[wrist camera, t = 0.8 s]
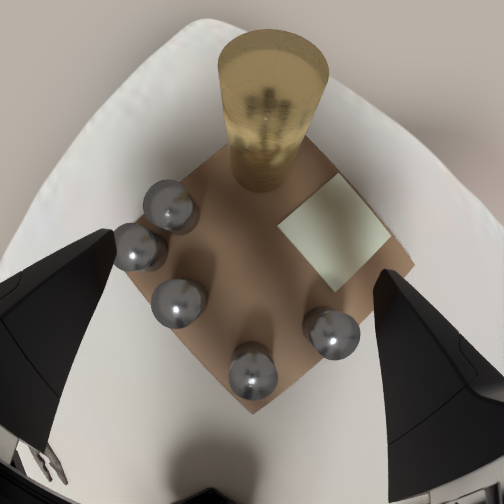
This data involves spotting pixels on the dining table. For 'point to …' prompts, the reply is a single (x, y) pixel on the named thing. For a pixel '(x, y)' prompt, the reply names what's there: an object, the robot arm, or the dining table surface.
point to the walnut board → (274, 262)
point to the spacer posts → (196, 299)
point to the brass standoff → (268, 103)
